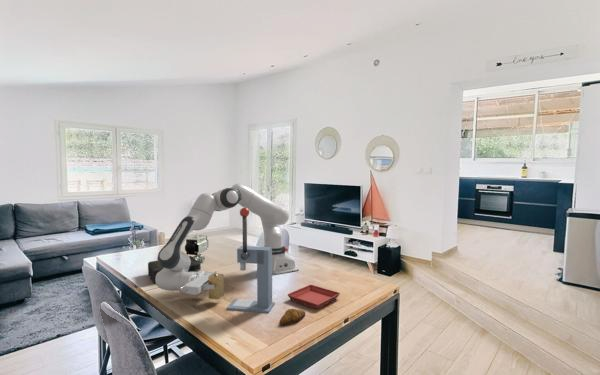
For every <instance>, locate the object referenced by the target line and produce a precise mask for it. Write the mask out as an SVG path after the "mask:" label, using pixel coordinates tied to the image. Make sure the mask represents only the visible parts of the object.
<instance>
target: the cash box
mask: <svg viewBox="0 0 600 375" xmlns="http://www.w3.org/2000/svg"><path fill="white" fill-rule="evenodd" d="M188 256H189V257H190V259H191V265H190V268H189V271H188V272H193V271H196V270H201V262H198V261H197V260H196V259H195V258H193V255H188ZM163 268H164V267H161V266H160V265H159V263H158V260H153V261H149V262H148V263H147V272H148V273H147V275H148V276H149V278H150V279H151V281H152V283H153V284H154V285H156V282H155V278H156V274H157V273H158V272H160V271H161V270H162V269H163ZM201 271H202V270H201Z"/></svg>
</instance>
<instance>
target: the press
mask: <svg viewBox="0 0 600 375" xmlns="http://www.w3.org/2000/svg"><path fill="white" fill-rule="evenodd" d="M247 252H248V253H249V257H248V258H247V259H246V260H243V259H242V258H241V254H242V253H243V245H241V246H240V247H238V248H236V261H237V264H239V265H240V266H239V267H240V268H239V269H240V271H243V272H244V271H246V269H247V267H246V266H247V264H252V265H253V264H255V265H256V267H257V268H256V271H257V272H256V278H257V279H256V285H257V286H256V287H257V289H256V290H257V291H256V292H257V294H256V295H257V298H256V300H253V299H241V298H239V299H237V298H236V299H235V298H234V299H233V300H232V301H231V302H230V303H229V304H228V305H227V307H225V308H226V310H228V311H238V312H240V311H242V312H250V313H251V312H252V313H263V314H269V313H270V312H271V310H272V309H273V307H275V301H273V273H272V247H264V246H254V245H247Z"/></svg>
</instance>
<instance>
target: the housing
mask: <svg viewBox="0 0 600 375" xmlns="http://www.w3.org/2000/svg"><path fill="white" fill-rule="evenodd" d="M213 272H214V273H213V274H211V275H210V276H209V277H208V284H215V286H216V287H215V288H214V289H207V290H208V299H210V300H221V298H222V297H224V293H225V292H224V283H225V282H224V273H219V272H218V271H213Z"/></svg>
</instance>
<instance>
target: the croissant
mask: <svg viewBox="0 0 600 375" xmlns="http://www.w3.org/2000/svg"><path fill="white" fill-rule="evenodd" d="M305 316H306V312H305V310H303V309H296V308H290V309H289V308H288V309H287V310H285V312H284V314H283V315H282V316H281V318H280V320H279V325H280V326H287V325H291V324H293V323H296V322H299V320H302V319H303V318H304V317H305Z"/></svg>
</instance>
